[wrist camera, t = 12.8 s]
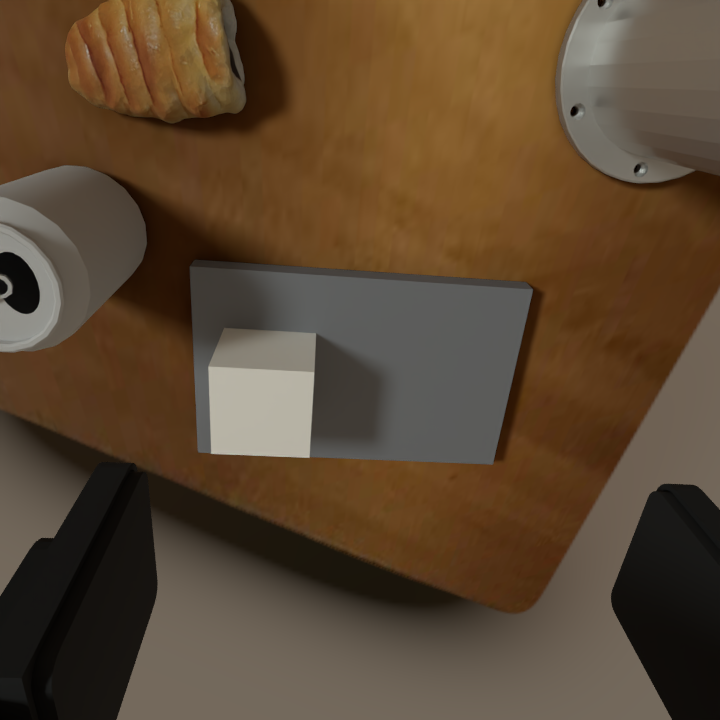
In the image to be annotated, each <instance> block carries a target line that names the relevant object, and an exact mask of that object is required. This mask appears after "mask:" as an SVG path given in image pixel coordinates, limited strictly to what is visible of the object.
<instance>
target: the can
mask: <svg viewBox="0 0 720 720" xmlns="http://www.w3.org/2000/svg"><path fill="white" fill-rule="evenodd" d="M146 245H147V237H146V225H145V222H144V220H143V217H142V215H141V212H140V210H139V207H138V205H137V204H136V203H135V201H134V200H133V199H132V197H131V196H130V195H129V194H128V192H127V191H126V190H125V188H123V187H122V186H121V185H119V184H118V183H117V182H115V181H114V180H113V179H111V178H110V177H109V176H107V175H105V174H103V173H100V172H98V171H95V170H93V169H90V168H87V167H80V166H67V165H65V166H61V167H57V168H53V169H49V170H46V171H43V172H40V173H37V174H33V175H30V176H27V177H24V178H21V179H18V180H15V181H12V182H9V183H6V184H3V185H0V352H18V351H36V350H40V349H44V348H48V347H52V346H56V345H57V344H59V343H60V342H62V341H63V340H65V339H67V338H68V337H70V336H71V335H73V334H74V333H75V332H76V331H77V330H78V329H79V328H80V327H81V326H82V325H83V324H84V323H85V322H86V321H87V320H88V319H89V318H90V317H91V316H92V315H93V314H94V313H95V312H96V311H97V310H98V309H99V308H100V307H101V306H102V305H103V304H104V303H105V302H106V301H107V300H108V299H109V298H110V297H111V296H112V295H113V294H114V293H115V292H116V291H117V290H118V289H119V288H120V286H121V285H122V284H123V283H124V282H125V281H126V280H127V279H128V278H129V277H130V276H131V275H132V274H133V273H134V272H135V270H136V269H137V267H138V266H139V265H140V263H141V262H142V260H143V257H144V253H145V249H146Z"/></svg>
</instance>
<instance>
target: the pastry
mask: <svg viewBox="0 0 720 720" xmlns="http://www.w3.org/2000/svg"><path fill="white" fill-rule="evenodd" d="M236 30H237V21H236V18H235V14H234V7H233V5H232V3H231V1H230V0H109V1H107V2H104V3H102V4H100V6H99V7H98V8H97V9H96V10H94V11H93V12H92V13H91V14H90V15H89V16H87V17H85V18H83V19H80V20H77V21H76V22H75V23H74V25H73V26H72V28H71V30H70V31H69V33H68V37H67V41H66V44H65V54H66V61H67V66H68V70H69V71H68V79H69V82H70V85H71V87H72V88H73V89H74V90H75V91H76V92H78V93H79V94H81V95H82V96H83V97H84V98H86V99H87V100H88V101H89V102H90V103H92V104H93V105H95V106H97V107H99V108H104V109H109V110H114V111H116V112H118V113H120V114H127V115H129V116H133V117H154V118H158V119H161V120H163V121H165V122H168V123H176V122H179V121H181V120H183V119H186V118H196V117H199V118H208V117H212V116H216V115H218V114H222V113H226V112H228V113H233V114H236V113H239V112H240V111H241V110H242V109H243V108H244V105H245V103H246V94H245V89H244V86H243V85H244V81H245V79H244V70H243V65H242V62H241V59H240V54H239V51H238V48H237V45H236V43H235V35H236Z"/></svg>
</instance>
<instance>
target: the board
mask: <svg viewBox="0 0 720 720" xmlns="http://www.w3.org/2000/svg"><path fill="white" fill-rule="evenodd" d="M190 285H191V307H192V330H193V352H194V374H195V396H196V418H197V440H198V452H201V453H211V432H210V402H209V371H208V366H209V364H210V361H211V359H212V356H213V354H214V352H215V349H216V347H217V344H218V342H219V339H220V337H221V335H222V332H223V330H224V328H235V329H252V330H269V331H286V332H303V333H316V347H315V370H314V388H313V405H312V422H311V439H310V456H309V457H324V458H348V459H373V460H398V461H422V462H447V463H471V464H493V462H494V457H495V453H496V449H497V444H498V440H499V436H500V431H501V427H502V423H503V418H504V414H505V410H506V405H507V401H508V397H509V392H510V388H511V384H512V379H513V375H514V371H515V366H516V362H517V358H518V353H519V349H520V345H521V340H522V336H523V332H524V327H525V323H526V319H527V314H528V310H529V306H530V301H531V297H532V293H533V289H532V288H531V287H530V286H529V285H528V284H527V283H526V282H516V281H501V280H487V279H472V278H457V277H443V276H428V275H414V274H399V273H384V272H370V271H355V270H341V269H326V268H311V267H297V266H282V265H268V264H253V263H238V262H224V261H209V260H194V261H193V262H192V264H191V265H190Z"/></svg>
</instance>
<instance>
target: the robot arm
mask: <svg viewBox="0 0 720 720" xmlns="http://www.w3.org/2000/svg"><path fill="white" fill-rule="evenodd" d="M597 3H598V0H583V1H582V3H581V4H580V6H579V7H578V8H577V10H576V12H575V14H574V17H573V19H572V21H571V23H570V25H569V27H568V29H567V31H566V34H565V37H564V40H563V43H562V46H561V50H560V53H559V57H558V64H557V71H556V78H555V85H556V104H557V109H558V113H559V118H560V122H561V125H562V127H563V129H564V132H565V134H566V136H567V139H568V141H569V142H570V143H571V145H572V146H573V148H574V149H575V150H576V152H577V153H578V155H579V156H580V157H581V158H583V159H584V160H585V161H586V162H587V163H588V164H589V165H591V166H592V167H593V168H595V169H597V170H599V171H600V172H602V173H604V174H606V175H608V176H611V177H614V178H617V179H620V180H623V181H628V182H633V183H659V182H664V181H668V180H672V179H676V178H680V177H682V176H685V175H687V174H689V173H691V172H694V171H696V170H698V171H702V172H706V173H710V174H714V175H718V176H720V0H603V2H602V5H601V6H600V7H599V6H598V4H597ZM573 106H574V107H575V108H576V112H575V114H574V115H572V116H571V115H570V111H571V109H572V107H573ZM636 165H637V169H636V170H635V171H634V168H635V166H636ZM156 594H157V571H156V561H155V552H154V540H153V529H152V519H151V508H150V497H149V486H148V477H147V474H146V472H137V467H136V465H135V464H134V463H115V462H101V463H99V464H98V465H97V467H96V468H95V470H94V472H93V473H92V475H91V477H90V478H89V480H88V482H87V483H86V485H85V487H84V489H83V490H82V492H81V494H80V495H79V497H78V499H77V500H76V502H75V504H74V505H73V507H72V509H71V511H70V512H69V514H68V515H67V517H66V519H65V520H64V522H63V524H62V525H61V527H60V529H59V530H58V532H57V534H56V536H55V537H54V538H41V539H39V540H38V541H36V542H35V543H34V545H33V546H32V547H31V549H30V550H29V552H28V553H27V555H26V556H25V558H24V559H23V561H22V563H21V564H20V566H19V568H18V569H17V571H16V572H15V574H14V575H13V577H12V579H11V580H10V582H9V583H8V585H7V587H6V588H5V590H4V591H3V593H2V594H1V596H0V720H116V719H117V716H118V713H119V710H120V707H121V704H122V701H123V698H124V695H125V692H126V688H127V686H128V683H129V679H130V676H131V673H132V670H133V667H134V664H135V661H136V658H137V655H138V652H139V649H140V646H141V643H142V640H143V637H144V634H145V631H146V627H147V624H148V622H149V619H150V616H151V613H152V609H153V606H154V603H155V599H156ZM611 602H612V607H613V610H614V612H615V614H616V616H617V618H618V620H619V622H620V624H621V625H622V627H623V629H624V631H625V633H626V635H627V637H628V639H629V640H630V642H631V644H632V646H633V648H634V650H635V652H636V653H637V655H638V657H639V659H640V661H641V663H642V664H643V666H644V668H645V670H646V672H647V674H648V676H649V678H650V679H651V681H652V683H653V685H654V687H655V689H656V690H657V692H658V694H659V696H660V698H661V700H662V702H663V703H664V705H665V707H666V709H667V711H668V713H669V715H670V716H671V718H672V720H720V510H719V509H718V507H717V506H716V505H715V504H714V503H713V502H712V501H711V500H710V499H709V498H708V496H707V495H706V494H705V493H704V492H703V491H702V490H701V489H700V488H699V487H697V486H695V485H683V484H663V485H661V486H660V487H659V488H658V489H657V491H654V492H652V493H651V494H650V495H649V497H648V500H647V502H646V505H645V507H644V510H643V512H642V515H641V517H640V520H639V523H638V525H637V528H636V531H635V533H634V536H633V538H632V541H631V543H630V546H629V548H628V551H627V554H626V556H625V559H624V561H623V564H622V566H621V569H620V572H619V574H618V577H617V580H616V582H615V585H614V587H613V590H612V593H611Z"/></svg>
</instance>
